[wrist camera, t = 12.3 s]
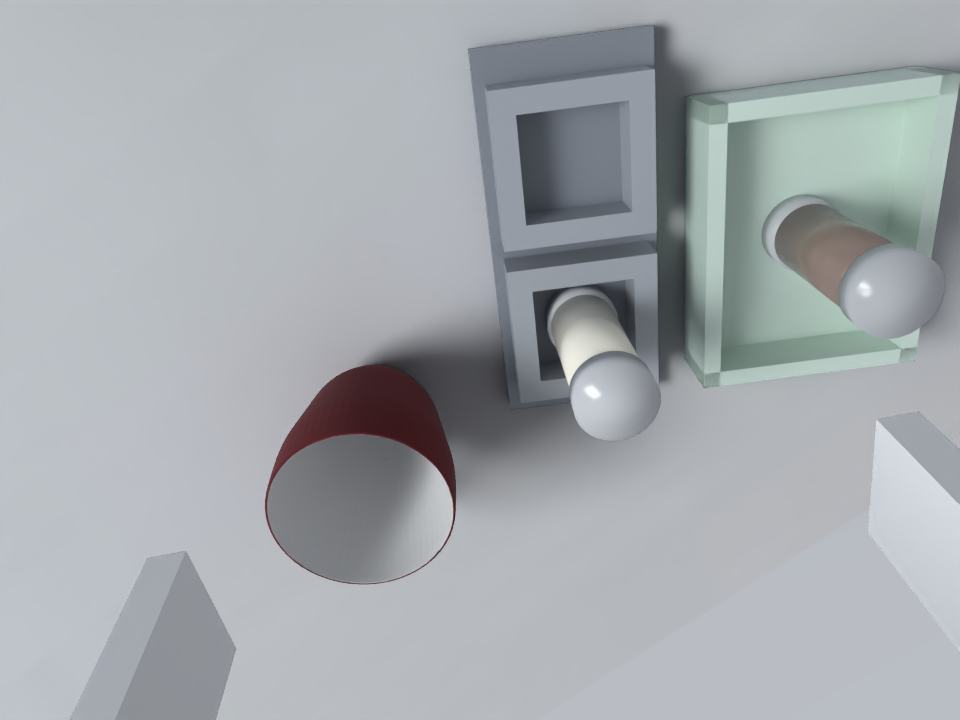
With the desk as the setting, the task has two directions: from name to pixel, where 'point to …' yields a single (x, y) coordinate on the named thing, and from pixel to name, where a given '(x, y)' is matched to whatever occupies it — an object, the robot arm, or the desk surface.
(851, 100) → the tray
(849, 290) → the fuse
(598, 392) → the fuse
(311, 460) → the mug
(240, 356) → the desk surface
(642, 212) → the block
